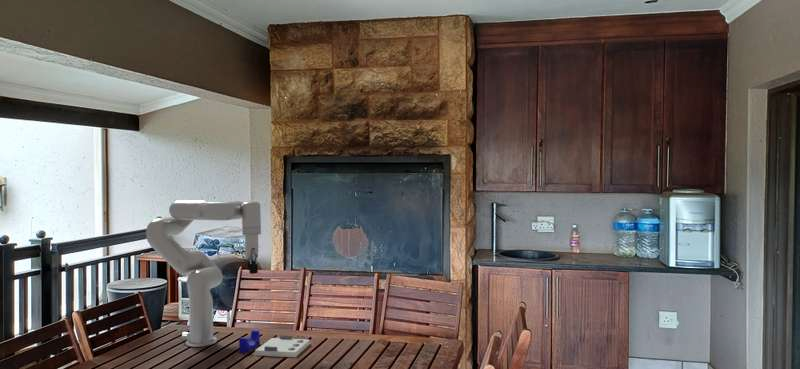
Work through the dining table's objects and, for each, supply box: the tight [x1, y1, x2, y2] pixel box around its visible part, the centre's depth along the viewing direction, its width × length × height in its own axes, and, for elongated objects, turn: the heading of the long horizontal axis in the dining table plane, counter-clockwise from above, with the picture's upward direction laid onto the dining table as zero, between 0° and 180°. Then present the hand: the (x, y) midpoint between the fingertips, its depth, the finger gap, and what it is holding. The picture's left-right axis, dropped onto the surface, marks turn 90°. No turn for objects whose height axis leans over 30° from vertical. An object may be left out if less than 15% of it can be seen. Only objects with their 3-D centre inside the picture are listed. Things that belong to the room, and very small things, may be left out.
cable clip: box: [238, 330, 261, 354], centre depth 225 cm, size 12×4×6 cm, turn 168°
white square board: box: [254, 334, 311, 358], centre depth 223 cm, size 17×17×4 cm
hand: (252, 271), depth 227 cm, fingers open, 9 cm apart
